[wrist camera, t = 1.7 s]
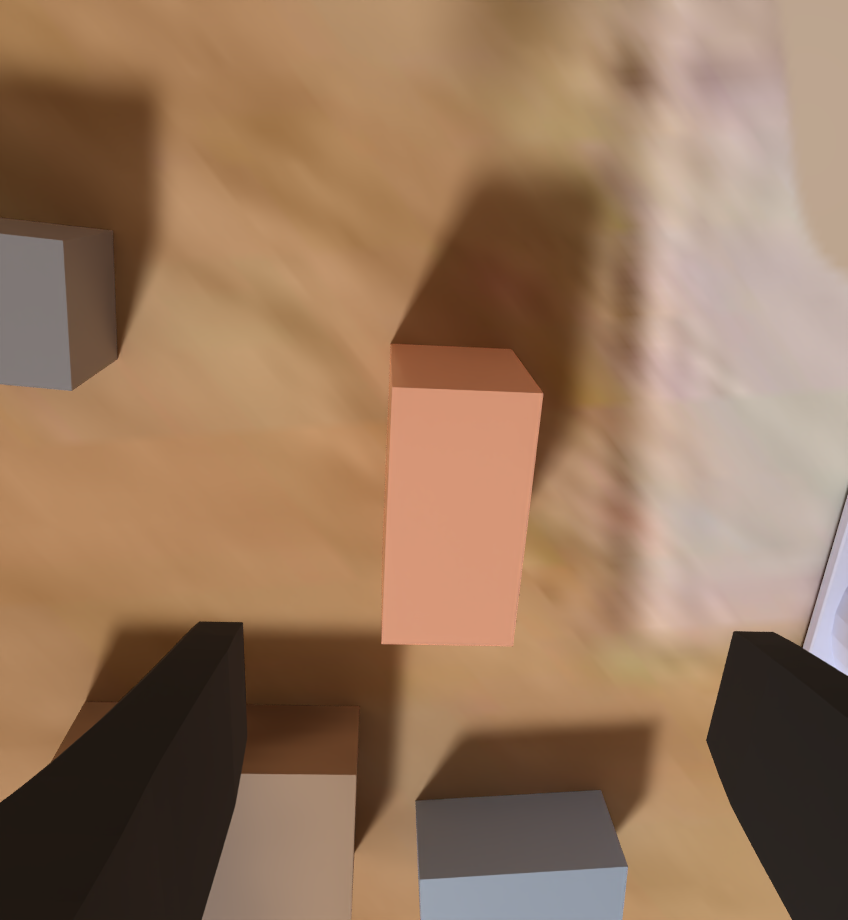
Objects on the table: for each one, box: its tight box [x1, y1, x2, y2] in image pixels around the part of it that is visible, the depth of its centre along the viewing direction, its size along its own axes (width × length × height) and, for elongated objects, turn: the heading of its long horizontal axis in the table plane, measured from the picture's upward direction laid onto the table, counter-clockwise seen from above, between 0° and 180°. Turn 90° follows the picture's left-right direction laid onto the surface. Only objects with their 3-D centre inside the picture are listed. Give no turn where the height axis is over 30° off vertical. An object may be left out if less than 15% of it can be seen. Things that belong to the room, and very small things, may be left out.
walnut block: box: [51, 702, 360, 920], centre depth 22 cm, size 8×6×3 cm
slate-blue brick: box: [416, 790, 628, 920], centre depth 23 cm, size 6×3×3 cm, turn 91°
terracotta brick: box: [381, 344, 543, 646], centre depth 17 cm, size 3×6×4 cm, turn 177°
